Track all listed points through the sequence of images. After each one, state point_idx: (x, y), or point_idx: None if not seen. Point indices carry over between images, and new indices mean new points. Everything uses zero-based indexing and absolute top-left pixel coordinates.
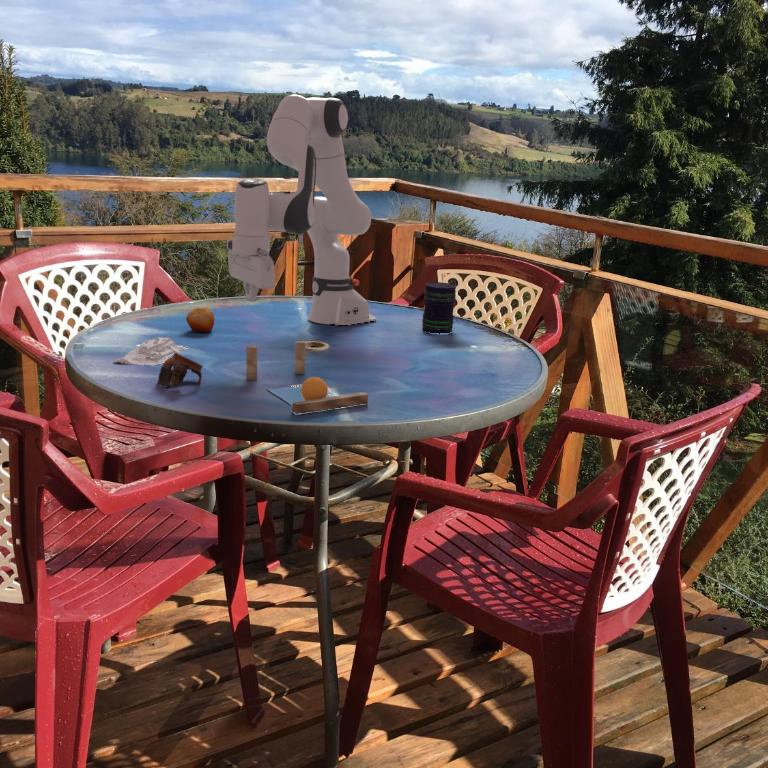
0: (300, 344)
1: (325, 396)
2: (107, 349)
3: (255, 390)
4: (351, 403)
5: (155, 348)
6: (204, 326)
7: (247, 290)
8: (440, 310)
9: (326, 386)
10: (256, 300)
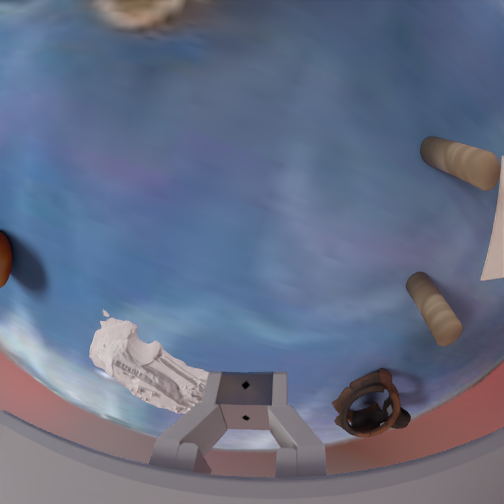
0: (496, 181)
1: None
2: (131, 409)
3: (470, 297)
4: None
5: (175, 395)
6: (8, 258)
7: (213, 437)
8: None
9: None
10: (286, 372)
